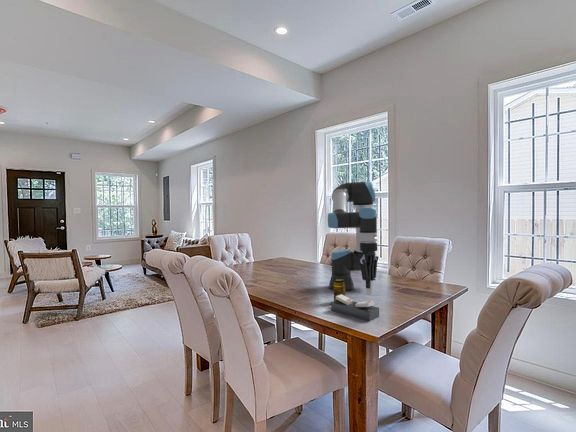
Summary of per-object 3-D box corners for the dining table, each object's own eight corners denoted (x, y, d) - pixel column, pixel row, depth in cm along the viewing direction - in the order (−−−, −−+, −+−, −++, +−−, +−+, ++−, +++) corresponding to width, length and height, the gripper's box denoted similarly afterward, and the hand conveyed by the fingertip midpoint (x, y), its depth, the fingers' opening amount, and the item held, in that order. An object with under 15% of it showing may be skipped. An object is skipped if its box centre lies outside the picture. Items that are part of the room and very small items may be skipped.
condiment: (330, 303, 159) (330, 280, 159) (339, 299, 165) (338, 277, 165) (342, 305, 154) (342, 282, 154) (351, 301, 161) (350, 278, 160)
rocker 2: (355, 307, 139) (355, 303, 139) (361, 304, 142) (360, 301, 142) (368, 306, 134) (368, 303, 134) (374, 304, 137) (373, 300, 137)
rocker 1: (335, 298, 147) (336, 295, 146) (341, 296, 150) (341, 293, 150) (347, 305, 142) (348, 301, 142) (352, 302, 145) (353, 299, 145)
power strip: (325, 309, 149) (325, 299, 149) (335, 305, 155) (335, 296, 155) (369, 321, 132) (369, 310, 131) (379, 316, 137) (379, 306, 137)
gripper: (368, 243, 128) (369, 299, 128) (383, 241, 137) (384, 293, 137) (352, 242, 133) (354, 296, 134) (368, 240, 143) (369, 290, 143)
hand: (369, 294), depth 135 cm, fingers closed
